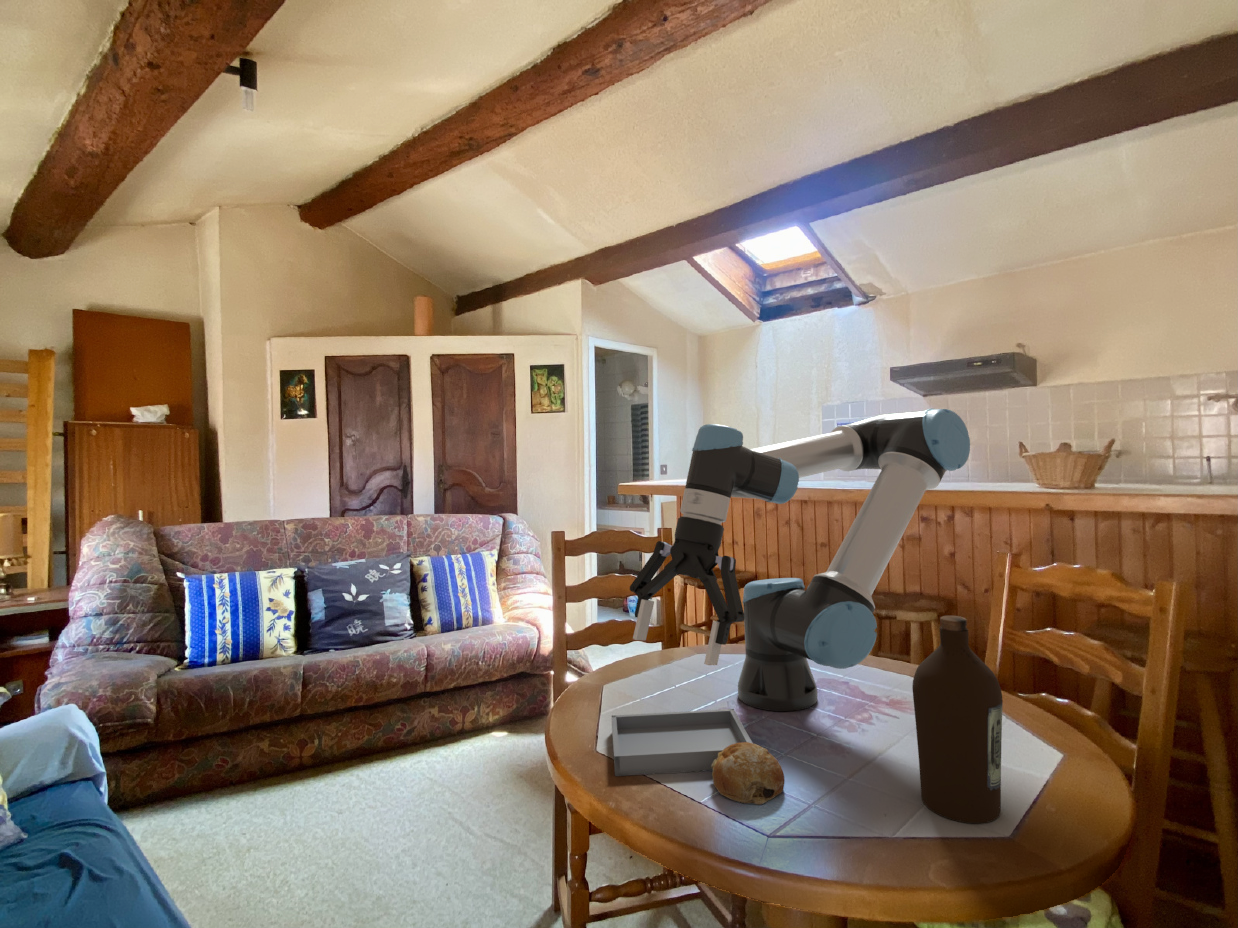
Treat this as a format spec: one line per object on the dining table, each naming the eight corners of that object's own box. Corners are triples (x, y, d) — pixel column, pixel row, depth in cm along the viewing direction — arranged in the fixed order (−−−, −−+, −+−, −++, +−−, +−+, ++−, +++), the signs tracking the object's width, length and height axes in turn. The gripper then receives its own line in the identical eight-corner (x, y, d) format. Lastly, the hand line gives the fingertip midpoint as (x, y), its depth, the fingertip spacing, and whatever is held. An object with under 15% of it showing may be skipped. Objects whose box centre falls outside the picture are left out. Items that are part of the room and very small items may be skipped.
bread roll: (733, 833, 88) (747, 792, 85) (693, 773, 96) (705, 733, 93) (788, 812, 92) (804, 772, 89) (746, 756, 101) (759, 718, 97)
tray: (734, 725, 114) (733, 708, 114) (756, 768, 98) (755, 748, 98) (612, 732, 113) (611, 715, 113) (615, 776, 97) (614, 756, 97)
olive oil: (910, 813, 84) (903, 623, 84) (922, 777, 93) (916, 606, 93) (1004, 836, 79) (997, 632, 78) (1007, 796, 88) (1001, 613, 87)
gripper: (627, 504, 109) (599, 629, 106) (762, 529, 93) (732, 676, 91) (652, 512, 114) (625, 631, 112) (783, 536, 99) (755, 675, 96)
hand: (673, 651), depth 101 cm, fingers open, 13 cm apart
